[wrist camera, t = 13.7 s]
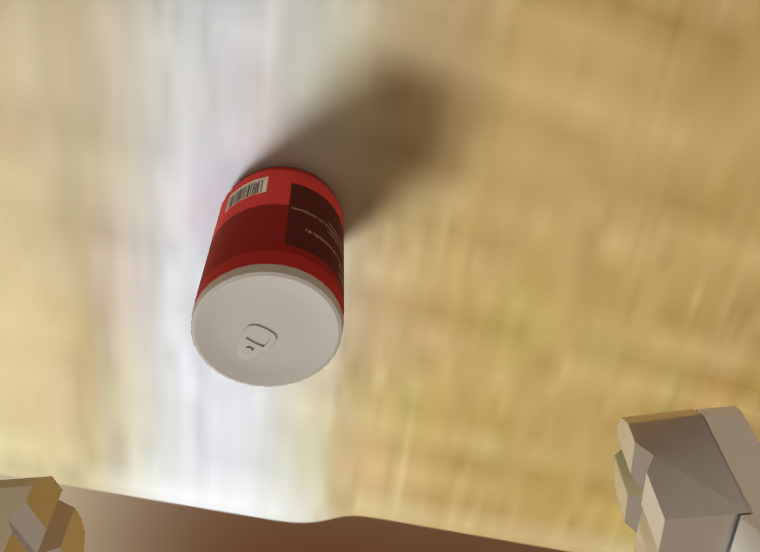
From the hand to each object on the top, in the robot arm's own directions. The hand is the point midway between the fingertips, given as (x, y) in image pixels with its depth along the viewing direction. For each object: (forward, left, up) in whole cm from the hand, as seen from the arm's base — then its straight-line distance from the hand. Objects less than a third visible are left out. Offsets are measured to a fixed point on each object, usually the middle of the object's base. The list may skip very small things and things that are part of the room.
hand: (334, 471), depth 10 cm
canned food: (+6, +15, -32) cm, 35 cm away
